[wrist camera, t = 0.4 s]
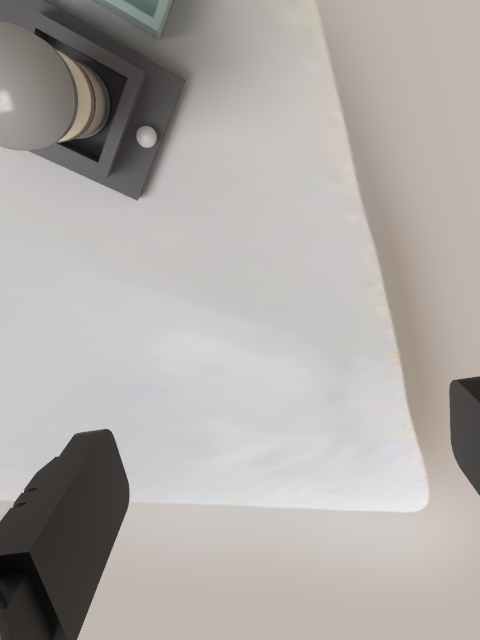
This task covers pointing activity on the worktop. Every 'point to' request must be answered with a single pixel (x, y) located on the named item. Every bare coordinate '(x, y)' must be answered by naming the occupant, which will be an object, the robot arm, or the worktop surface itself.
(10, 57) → the cylinder
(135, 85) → the fuse holder
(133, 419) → the worktop surface
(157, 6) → the parts tray
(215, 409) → the worktop surface
